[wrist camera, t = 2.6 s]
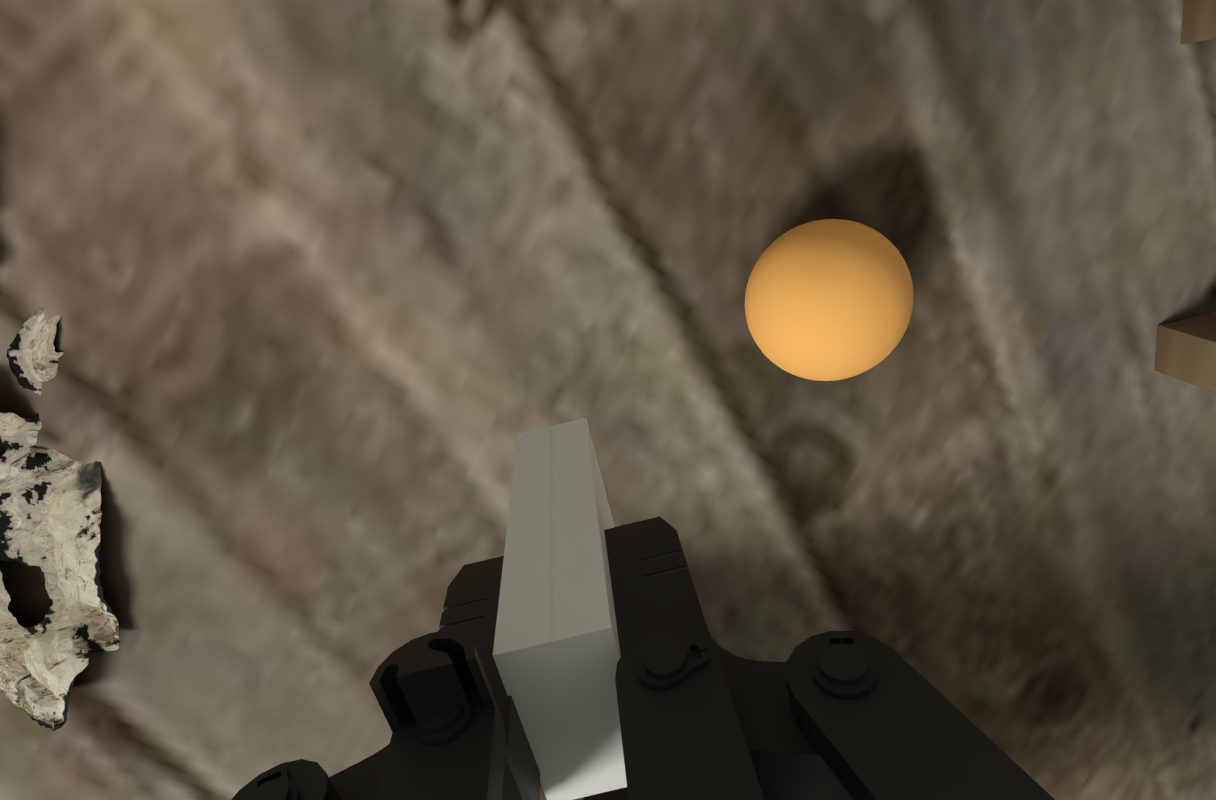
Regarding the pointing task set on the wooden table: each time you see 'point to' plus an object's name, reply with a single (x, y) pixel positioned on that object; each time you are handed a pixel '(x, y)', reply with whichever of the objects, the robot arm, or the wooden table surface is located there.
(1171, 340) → the bridge
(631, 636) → the robot arm
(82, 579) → the driftwood
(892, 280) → the ball
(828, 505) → the wooden table surface
